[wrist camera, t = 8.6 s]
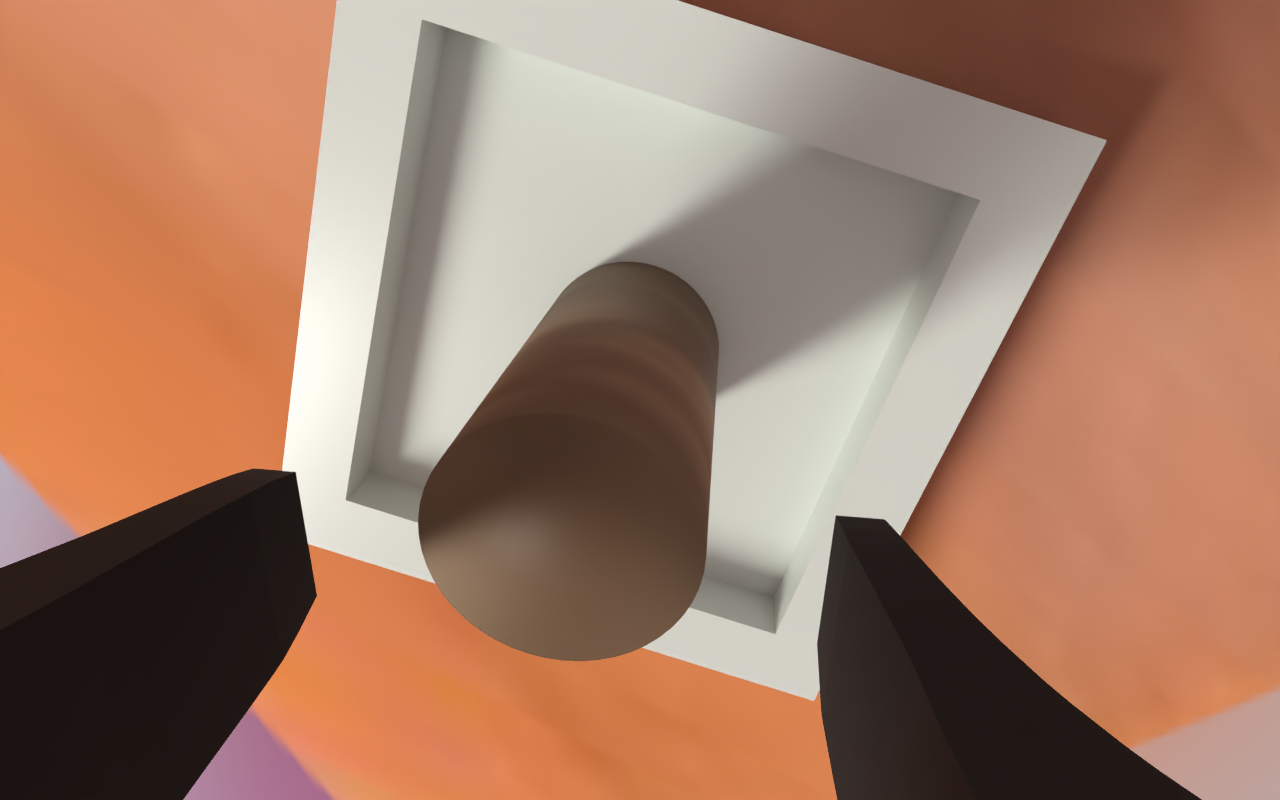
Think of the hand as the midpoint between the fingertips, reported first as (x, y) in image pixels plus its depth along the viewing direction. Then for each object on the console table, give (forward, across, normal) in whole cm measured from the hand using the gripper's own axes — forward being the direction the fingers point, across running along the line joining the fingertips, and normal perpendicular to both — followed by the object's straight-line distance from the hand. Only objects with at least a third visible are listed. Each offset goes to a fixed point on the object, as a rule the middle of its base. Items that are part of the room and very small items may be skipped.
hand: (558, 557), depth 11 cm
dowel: (+8, 0, 0) cm, 8 cm away
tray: (+9, 0, 0) cm, 9 cm away
